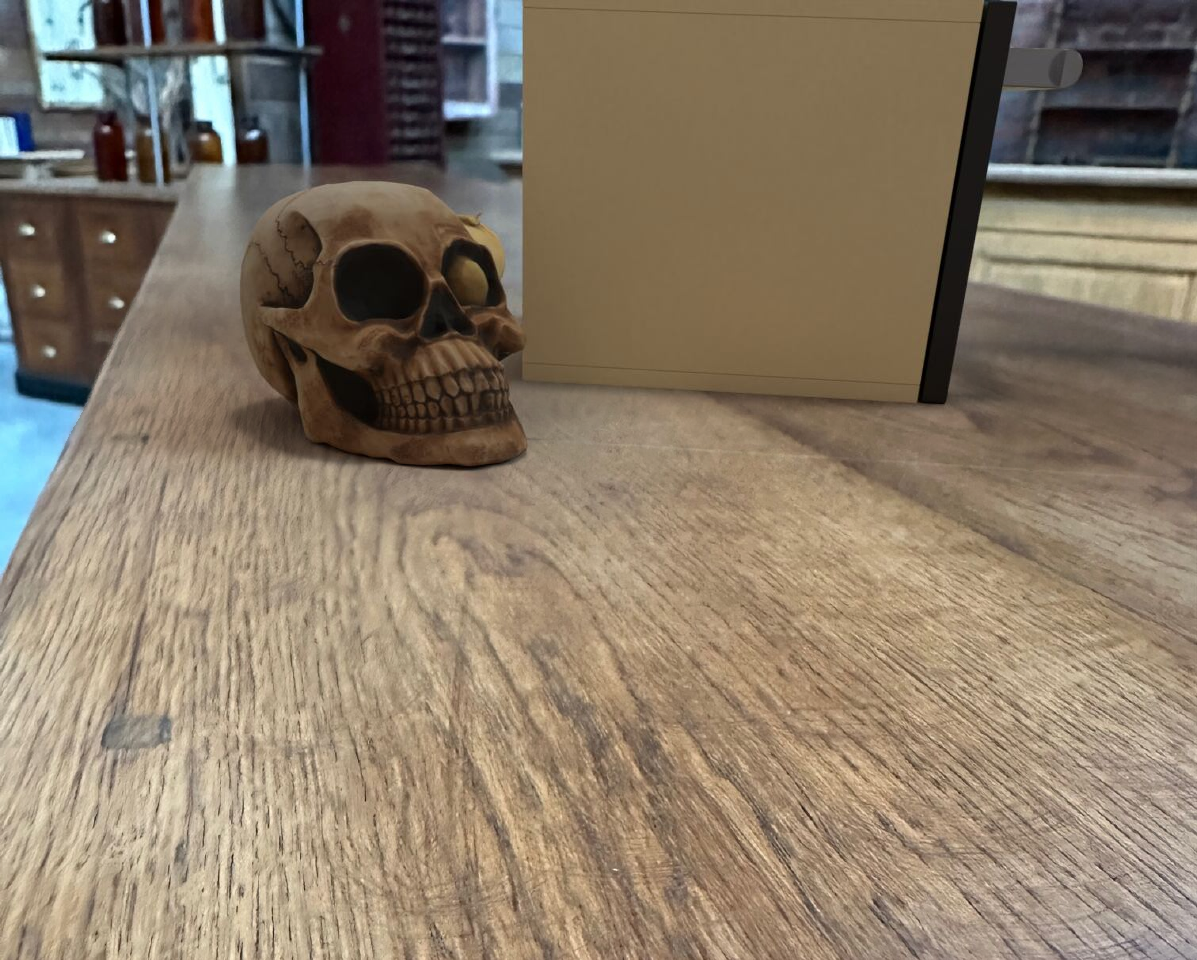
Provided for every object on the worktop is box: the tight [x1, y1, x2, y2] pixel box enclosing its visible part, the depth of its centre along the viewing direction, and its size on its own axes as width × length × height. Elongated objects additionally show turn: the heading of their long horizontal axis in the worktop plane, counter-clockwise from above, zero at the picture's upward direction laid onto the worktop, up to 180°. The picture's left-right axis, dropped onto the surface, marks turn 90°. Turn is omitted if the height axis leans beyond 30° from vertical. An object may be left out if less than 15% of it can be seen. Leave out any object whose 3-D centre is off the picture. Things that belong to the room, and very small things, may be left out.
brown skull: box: [239, 180, 528, 467], centre depth 64 cm, size 16×17×13 cm
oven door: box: [918, 0, 1084, 404], centre depth 83 cm, size 7×28×22 cm, turn 174°
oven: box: [521, 0, 985, 404], centre depth 84 cm, size 26×28×22 cm
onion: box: [455, 211, 506, 281], centre depth 111 cm, size 8×8×7 cm
